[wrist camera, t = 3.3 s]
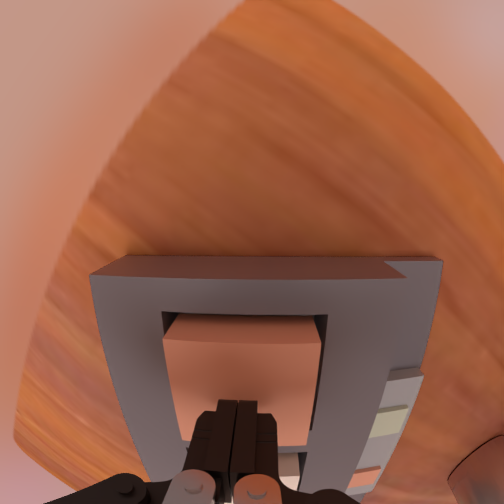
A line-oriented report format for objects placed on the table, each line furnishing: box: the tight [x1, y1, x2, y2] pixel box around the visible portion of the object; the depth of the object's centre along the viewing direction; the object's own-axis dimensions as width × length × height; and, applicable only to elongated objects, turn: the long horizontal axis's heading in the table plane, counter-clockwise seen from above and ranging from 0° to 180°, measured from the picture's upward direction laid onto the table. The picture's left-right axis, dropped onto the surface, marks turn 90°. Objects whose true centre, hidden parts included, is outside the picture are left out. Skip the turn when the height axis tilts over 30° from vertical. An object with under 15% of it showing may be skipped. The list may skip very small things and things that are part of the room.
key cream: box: [224, 452, 300, 504], centre depth 14 cm, size 6×6×2 cm
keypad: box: [89, 255, 443, 503], centre depth 16 cm, size 18×28×4 cm, turn 0°
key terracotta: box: [162, 313, 321, 446], centre depth 12 cm, size 6×6×2 cm
